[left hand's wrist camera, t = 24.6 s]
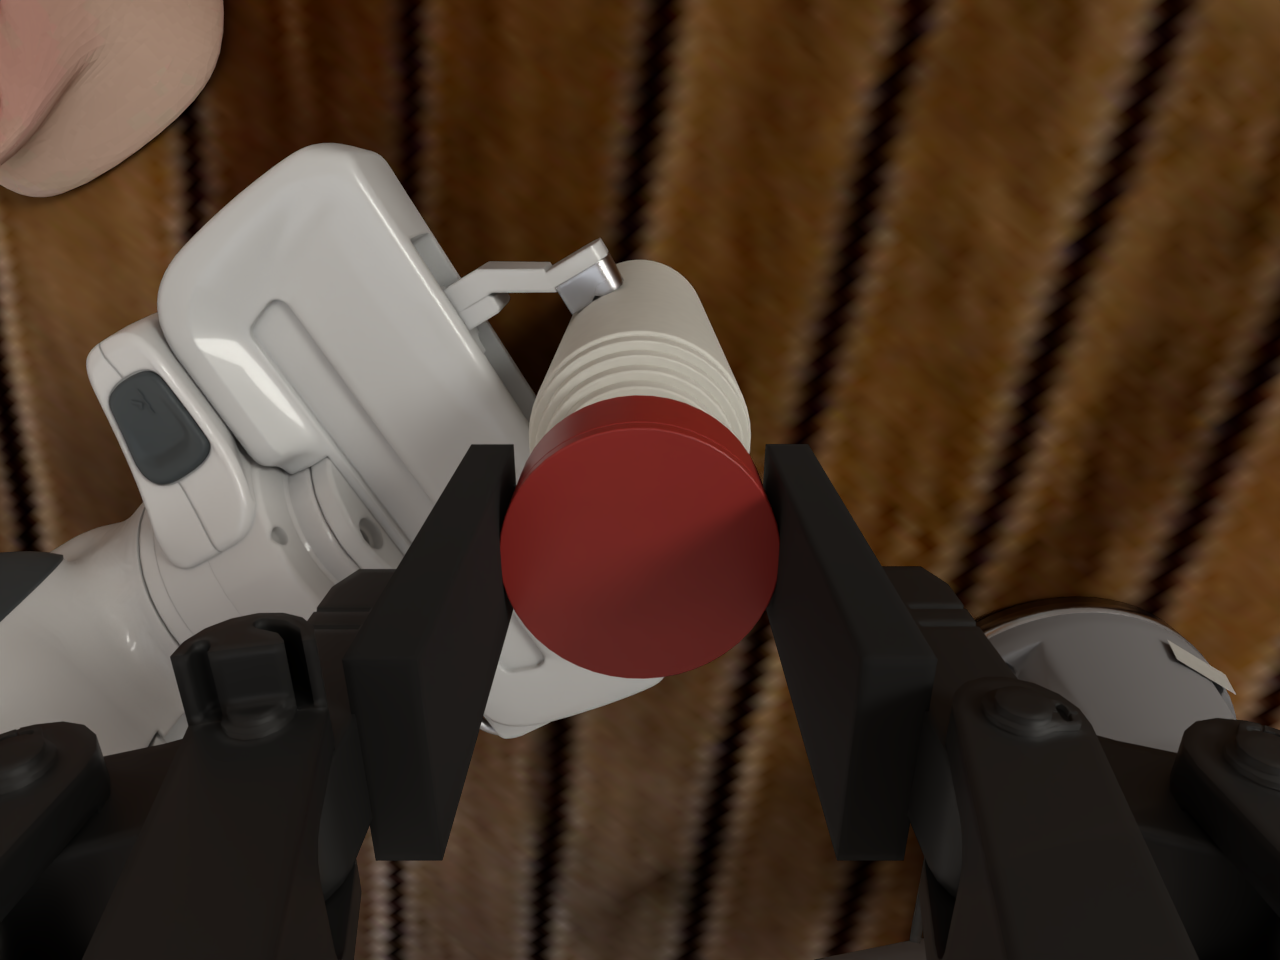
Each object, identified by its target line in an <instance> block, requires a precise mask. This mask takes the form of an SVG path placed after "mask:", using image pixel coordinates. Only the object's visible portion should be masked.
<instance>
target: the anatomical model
mask: <svg viewBox="0 0 1280 960" xmlns="http://www.w3.org/2000/svg"><path fill="white" fill-rule="evenodd" d="M223 23H224V8H223V0H0V185H2V186H4V187H5V188H7V189H9V190H12V191H14V192H16V193H18V194H22V195H26V196H31V197H49V196H54V195H58V194H62V193H65V192H67V191H69V190H72V189H74V188H76V187H79V186H81V185H83V184H86V183H88V182H90V181H91V180H93V179H95V178H96V177H98V176H100V175H101V174H103V173H105V172H106V171H108V170H110V169H111V168H113V167H115V166H116V165H118V164H119V163H121V162H122V161H124V160H125V159H126V158H128V157H129V156H131V155H132V154H134V153H135V152H136V151H138V150H139V149H140V148H142V147H143V146H144V145H145V144H147V143H148V142H149V141H151V140H152V139H153V138H154V137H156V136H157V135H158V134H159V133H161V132H162V131H163V130H164V129H165V128H166V127H167V126H169V125H170V124H171V123H172V122H173V121H174V120H175V119H177V118H178V117H179V116H180V115H181V113H182V112H183V111H184V110H185V109H186V108H187V107H188V106H189V105H190V104H191V103H192V102H193V101H194V100H195V99H196V97H197V96H198V95H199V94H200V92H201V91H202V90H203V88H204V87H205V85H206V84H207V82H208V80H209V79H210V77H211V75H212V73H213V71H214V68H215V66H216V63H217V60H218V57H219V54H220V49H221V43H222V37H223Z"/></svg>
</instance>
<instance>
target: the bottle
mask: <svg viewBox="0 0 1280 960" xmlns="http://www.w3.org/2000/svg"><path fill="white" fill-rule="evenodd" d="M616 266H617V268H618V270H619V272H620V274H621V275H622V277H623V279H624V281H623V284H622V285H621V286H620V287H619V288H617V289H616V290H614V291H613V292H611V293H609V294H607V295H604V296H594V299H593V301H592V303H591V304H589V305H588V306H587V307H585V308H584V309H582V310H580V311H578V312H577V313H575V314H573V316H572V318H571V320H570V322H569V325H568V327H567V329H566V331H565V334H564V336H563V338H562V340H561V343H560V345H559V347H558V349H557V351H556V354H555V356H554V358H553V360H552V363H551V365H550V367H549V369H548V372H547V374H546V376H545V378H544V381H543V383H542V385H541V387H540V389H539V392H538V394H537V397H536V399H535V402H534V404H533V408H532V412H531V416H530V423H529V448H530V454H531V453H532V451H533V449H534V448H535V446H536V445H537V444H538V443H539V441H540V440H541V439H542V438H543V437H544V435H545V434H546V433H547V432H549V431H550V430H551V429H552V428H553V427H554V426H555V425H556V424H557V423H559V422H560V421H562V420H563V419H564V418H566V417H567V416H569V415H570V414H572V413H574V412H576V411H578V410H580V409H581V408H583V407H585V406H588V405H591V404H594V403H596V402H599V401H602V400H607V399H611V398H615V397H622V396H632V395H644V396H657V397H663V398H670V399H673V400H677V401H680V402H683V403H687V404H689V405H691V406H693V407H696V408H698V409H700V410H702V411H704V412H706V413H707V414H709V415H710V416H712V417H714V418H715V419H717V420H718V421H719V422H721V423H722V424H723V425H724V426H725V427H727V428H728V429H729V430H730V431H731V432H732V433H733V434H734V435H735V436H736V437H737V438H738V439H739V441H740V442H741V443H742V445H743V446H744V447H745V449H746V450H747V452H748V453H750V441H751V430H750V420H749V415H748V410H747V407H746V404H745V401H744V398H743V395H742V393H741V391H740V389H739V386H738V384H737V382H736V380H735V377H734V375H733V373H732V371H731V368H730V366H729V364H728V362H727V360H726V357H725V355H724V353H723V351H722V348H721V346H720V344H719V342H718V339H717V337H716V335H715V333H714V331H713V328H712V326H711V324H710V322H709V319H708V317H707V315H706V313H705V310H704V308H703V306H702V304H701V302H700V299H699V297H698V295H697V293H696V291H695V290H694V289H693V287H692V286H691V284H690V283H689V282H688V281H687V280H686V279H685V278H684V277H683V276H682V275H681V274H679V273H678V272H677V271H675V270H674V269H672V268H670V267H668V266H666V265H664V264H661V263H658V262H655V261H649V260H630V261H625V262H621V263H618V264H616Z"/></svg>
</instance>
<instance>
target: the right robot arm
mask: <svg viewBox="0 0 1280 960" xmlns="http://www.w3.org/2000/svg"><path fill="white" fill-rule="evenodd" d="M623 281H624V279H623V277H622V275H621V274H620V272H619V270H618V268H617V266H616V264H615V262H614V261H613V259H612V257H611V255H610V253H609V252H608V249H607V248H606V246H605V244H604V243H603V241H602V239H601V238H599V239H596V240H594V241H592V242H591V243H589V244H587V245H586V246H584V247H582V248H581V249H579V250H577V251H576V252H574V253H572V254H571V255H569V256H567V257H565V258H564V259H562V260H560V261H559V262H557V263H555V264H554V265H552V264H551V263H550V262H503V261H489V262H487V263H486V264H484V265H482V266H481V267H479V268H477V269H476V270H474V271H473V272H471V273H469V274H468V275H466V276H464V277H463V278H460V276H459V274H458V273H457V271H456V270H455V268H454V267H453V265H452V263H451V262H450V260H449V259H448V257H447V256H446V254H445V253H444V251H443V249H442V248H441V246H440V245H439V243H438V242H437V240H436V238H435V237H434V235H433V234H432V232H431V231H430V229H429V227H428V226H427V224H426V223H425V221H424V220H423V218H422V217H421V215H420V213H419V212H418V210H417V209H416V207H415V206H414V204H413V202H412V201H411V199H410V198H409V196H408V195H407V193H406V192H405V190H404V188H403V187H402V185H401V184H400V182H399V180H398V179H397V177H396V176H395V174H394V172H393V171H392V169H391V168H390V166H389V165H388V163H387V162H386V160H385V159H384V158H383V157H382V156H380V155H379V154H377V153H375V152H372V151H369V150H365V149H361V148H357V147H354V146H349V145H344V144H337V143H321V144H314V145H310V146H307V147H304V148H302V149H300V150H298V151H296V152H295V153H293V154H291V155H290V156H288V157H287V158H285V159H284V160H282V161H281V162H279V163H278V164H276V165H275V166H274V167H273V168H271V169H270V170H269V171H267V172H266V173H265V174H263V175H262V176H261V177H259V178H258V179H257V180H256V181H254V182H253V183H252V184H251V185H249V186H248V187H247V188H246V189H245V190H243V191H242V192H241V193H240V194H238V195H237V196H236V197H235V198H234V199H233V200H231V201H230V202H229V203H228V204H227V205H226V206H225V207H224V208H222V209H221V210H220V211H219V212H218V213H217V214H216V215H215V216H214V217H213V218H211V219H210V220H209V221H208V222H207V223H206V224H205V225H204V226H203V227H202V228H201V229H200V230H199V231H198V232H197V233H196V234H195V235H194V236H193V237H192V238H191V239H190V240H189V241H188V242H187V243H186V244H185V245H184V247H183V248H182V249H181V250H180V251H179V252H178V253H177V255H176V256H175V257H174V259H173V260H172V262H171V263H170V264H169V266H168V268H167V270H166V271H165V273H164V276H163V278H162V281H161V284H160V287H159V291H158V299H157V310H158V312H157V313H154V314H152V315H149V316H147V317H145V318H143V319H141V320H139V321H136V322H134V323H132V324H130V325H128V326H126V327H125V328H123V329H121V330H120V331H118V332H116V333H114V334H113V335H111V336H109V337H108V338H106V339H105V340H103V341H102V342H100V343H99V344H97V345H96V346H95V347H94V348H93V349H92V350H91V351H90V353H89V354H88V357H87V361H86V368H87V373H88V377H89V380H90V383H91V385H92V387H93V390H94V392H95V394H96V396H97V398H98V400H99V402H100V404H101V406H102V408H103V411H104V413H105V415H106V417H107V419H108V421H109V423H110V425H111V427H112V429H113V431H114V433H115V436H116V438H117V440H118V442H119V444H120V446H121V449H122V451H123V453H124V455H125V458H126V460H127V462H128V464H129V467H130V469H131V472H132V474H133V476H134V479H135V481H136V484H137V486H138V489H139V492H140V494H141V497H142V500H143V503H142V504H141V505H140V506H139V507H138V509H137V510H136V511H135V512H134V514H133V515H132V516H131V517H130V518H128V519H127V520H125V521H123V522H119V523H115V524H110V525H106V526H102V527H98V528H95V529H92V530H90V531H87V532H85V533H82V534H80V535H78V536H76V537H74V538H73V539H71V540H69V541H67V542H66V543H64V544H62V545H61V546H59V547H57V548H56V549H54V550H53V551H51V552H49V553H48V552H32V551H24V552H3V553H0V734H2V733H5V732H8V731H11V730H14V729H16V730H18V729H20V728H21V727H26V726H30V725H34V724H43V723H52V722H61V721H64V722H70V723H77V724H83V725H85V726H86V727H88V728H89V729H90V730H91V731H93V732H94V733H95V734H96V736H97V739H98V742H99V745H100V748H101V751H102V754H103V756H107V755H112V754H117V753H122V752H127V751H132V750H136V749H141V748H146V747H151V746H156V745H160V744H165V743H169V742H172V741H176V740H180V739H183V737H184V734H185V732H186V730H187V728H188V723H187V719H186V715H185V712H184V708H183V704H182V700H181V697H180V693H179V689H178V685H177V682H176V678H175V674H174V670H173V667H172V663H171V659H170V656H171V655H172V654H173V653H174V652H175V650H176V649H177V648H178V647H179V646H180V645H181V644H182V643H183V642H184V641H185V640H187V639H188V638H190V637H192V636H193V635H195V634H197V633H198V632H200V631H201V630H203V629H205V628H207V627H210V626H212V625H215V624H218V623H220V622H223V621H226V620H228V619H231V618H236V617H241V616H246V615H251V614H256V613H287V614H291V615H295V616H299V617H303V618H304V619H305V620H306V621H307V620H308V619H309V618H310V616H311V615H312V613H313V612H317V607H318V605H319V604H320V602H321V601H322V600H323V598H324V597H325V596H326V594H327V593H328V591H329V590H330V589H331V587H332V586H334V585H335V584H337V583H339V582H340V581H342V580H343V579H345V578H346V577H348V576H349V575H351V574H352V573H354V572H355V571H357V570H358V569H397V567H398V565H399V564H400V562H401V560H402V559H403V557H404V555H405V554H406V552H407V550H408V549H409V547H410V545H411V544H412V542H413V540H414V539H415V537H416V535H417V534H418V532H419V530H420V529H421V527H422V525H423V524H424V522H425V520H426V519H427V517H428V515H429V514H430V512H431V511H432V509H433V507H434V506H435V504H436V502H437V501H438V499H439V497H440V496H441V494H442V492H443V491H444V489H445V487H446V486H447V484H448V482H449V481H450V479H451V477H452V476H453V474H454V472H455V471H456V469H457V467H458V466H459V464H460V462H461V461H462V459H463V457H464V456H465V454H466V452H467V451H468V449H469V447H470V446H471V444H514V457H515V473H516V485H517V483H518V480H519V478H520V475H521V473H522V470H523V468H524V465H525V463H526V461H527V459H528V458H529V456H530V448H529V423H530V416H531V412H532V408H533V404H534V402H535V399H536V395H535V393H534V392H533V390H532V389H531V387H530V386H529V384H528V383H527V381H526V379H525V378H524V376H523V375H522V373H521V372H520V370H519V368H518V367H517V365H516V364H515V362H514V361H513V359H512V357H511V356H510V354H509V353H508V351H507V350H506V348H505V346H504V345H503V343H502V342H501V340H500V339H499V337H498V336H497V334H496V332H495V331H494V329H493V328H492V326H491V325H490V323H489V321H488V319H489V318H491V317H492V316H494V315H496V314H497V313H499V312H500V311H501V310H502V309H503V308H504V307H505V305H506V304H507V303H508V302H509V301H510V296H509V294H508V293H530V292H557V291H558V293H559V294H560V296H561V298H562V299H563V301H564V302H565V304H566V306H567V307H568V309H569V310H570V312H571V314H572V315H573V314H575V313H577V312H578V311H580V310H582V309H584V308H585V307H587V306H588V305H589V304H591V303H592V301H593V299H594V296H604V295H607V294H609V293H611V292H613V291H614V290H616V289H617V288H619V287H620V286H621V285H622V284H623ZM663 678H664V677H660V678H648V679H632V678H621V677H613V676H608V675H604V674H600V673H596V672H592V671H590V670H587V669H584V668H582V667H579V666H577V665H575V664H573V663H571V662H569V661H567V660H565V659H563V658H561V657H560V656H558V655H557V654H555V653H554V652H552V651H551V650H549V649H548V648H547V647H546V646H544V645H543V644H542V643H541V642H540V641H539V640H537V639H536V638H535V637H534V636H533V634H532V633H531V632H530V631H529V630H528V629H527V628H526V627H525V626H524V624H523V623H522V621H521V620H520V618H519V617H518V615H517V614H516V613H515V611H514V609H513V613H512V616H511V620H510V623H509V627H508V630H507V634H506V637H505V641H504V644H503V648H502V652H501V655H500V659H499V662H498V666H497V669H496V673H495V676H494V680H493V683H492V687H491V690H490V694H489V697H488V701H487V704H486V708H485V711H484V715H483V716H484V717H485V718H486V719H484V718H483V719H482V722H481V726H480V729H481V730H483V731H485V732H488V733H491V734H494V735H499V736H500V737H502V738H505V739H509V738H515V737H519V736H522V735H524V734H526V733H529V732H531V731H533V730H535V729H537V728H539V727H541V726H543V725H546V724H548V723H550V722H551V721H555V720H559V719H562V718H566V717H570V716H573V715H576V714H580V713H583V712H586V711H589V710H592V709H595V708H598V707H601V706H604V705H607V704H610V703H613V702H615V701H618V700H621V699H624V698H626V697H629V696H631V695H634V694H636V693H639V692H641V691H644V690H646V689H648V688H650V687H652V686H654V685H656V684H657V683H659V682H660V681H661V680H662V679H663Z"/></svg>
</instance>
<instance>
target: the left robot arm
mask: <svg viewBox="0 0 1280 960" xmlns="http://www.w3.org/2000/svg"><path fill="white" fill-rule="evenodd" d="M763 487H764V489H765V492H766V495H767V497H768V500H769V502H770V505H771V508H772V510H773V513H774V516H775V519H776V522H777V526H778V531H779V536H780V545H779V559H778V573H777V582H776V587H775V590H774V592H773V595H772V597H771V600H770V602H769V604H768V606H767V608H766V611H767V614H768V618H769V621H770V625H771V628H772V632H773V636H774V639H775V643H776V646H777V650H778V653H779V657H780V660H781V664H782V667H783V671H784V674H785V678H786V681H787V685H788V689H789V692H790V696H791V699H792V703H793V706H794V710H795V713H796V717H797V720H798V724H799V727H800V731H801V734H802V738H803V741H804V745H805V749H806V752H807V756H808V759H809V763H810V766H811V770H812V773H813V777H814V780H815V784H816V787H817V791H818V794H819V798H820V801H821V805H822V809H823V812H824V816H825V819H826V823H827V826H828V830H829V833H830V837H831V840H832V844H833V847H834V851H835V854H836V858H837V860H904V855H905V849H906V843H907V837H908V831H909V825H910V823H911V825H912V828H913V830H914V832H915V835H916V837H917V840H918V842H919V845H920V847H921V849H922V852H923V854H924V861H923V867H922V872H921V878H920V883H919V889H918V894H917V900H916V905H915V911H914V916H913V922H912V928H911V935H910V941H906V942H901V943H896V944H891V945H886V946H881V947H876V948H871V949H866V950H861V951H856V952H851V953H846V954H841V955H836V956H831V957H826V958H821V959H816V960H1280V730H1277V729H1275V728H1272V727H1269V726H1266V725H1265V726H1262V725H1261V724H1258V723H1253V722H1249V721H1243V720H1236V715H1235V711H1234V708H1233V705H1232V702H1231V699H1230V697H1229V695H1228V693H1227V691H1226V689H1227V690H1229V691H1231V692H1232V693H1234V694H1236V693H1235V692H1234V690H1233V688H1232V686H1231V684H1230V682H1229V681H1228V679H1227V677H1226V675H1225V674H1223V673H1222V672H1220V671H1218V670H1217V669H1215V668H1213V667H1212V666H1210V665H1209V663H1208V662H1207V661H1206V660H1205V658H1204V657H1203V656H1202V654H1201V653H1200V652H1199V651H1198V650H1197V649H1196V648H1195V647H1194V646H1193V645H1192V644H1191V643H1189V642H1188V641H1187V640H1186V639H1185V638H1184V637H1183V636H1181V635H1180V634H1179V633H1178V632H1177V631H1176V630H1174V629H1173V628H1172V627H1171V626H1169V625H1168V624H1167V623H1166V622H1164V621H1163V620H1161V619H1160V618H1158V617H1156V616H1155V615H1153V614H1151V613H1149V612H1147V611H1145V610H1143V609H1141V608H1138V607H1135V606H1132V605H1129V604H1127V603H1123V602H1119V601H1114V600H1110V599H1103V598H1096V597H1059V598H1050V599H1043V600H1038V601H1033V602H1028V603H1025V604H1021V605H1018V606H1014V607H1011V608H1008V609H1006V610H1003V611H1000V612H998V613H995V614H993V615H991V616H989V617H986V618H984V619H982V620H980V621H978V622H975V620H974V619H973V618H972V616H971V615H970V613H969V612H968V611H967V609H963V604H962V603H961V601H960V600H959V598H958V597H957V596H956V594H955V593H954V592H953V590H952V589H951V588H950V586H949V585H948V584H947V583H945V582H944V581H942V580H941V579H939V578H938V577H936V576H935V575H933V574H932V573H930V572H928V571H927V570H925V569H924V568H922V567H921V566H881V565H880V563H879V561H878V560H877V558H876V556H875V555H874V553H873V551H872V550H871V548H870V546H869V545H868V543H867V541H866V540H865V538H864V536H863V535H862V533H861V531H860V530H859V528H858V526H857V525H856V523H855V521H854V520H853V518H852V516H851V515H850V513H849V511H848V510H847V508H846V506H845V505H844V503H843V501H842V500H841V498H840V496H839V495H838V493H837V491H836V490H835V488H834V486H833V485H832V483H831V481H830V480H829V478H828V476H827V475H826V473H825V471H824V470H823V468H822V467H821V465H820V463H819V462H818V460H817V458H816V457H815V455H814V453H813V452H812V450H811V448H810V447H809V445H808V444H766V449H765V465H764V481H763ZM515 488H516V473H515V457H514V444H471V446H470V447H469V449H468V451H467V452H466V454H465V456H464V457H463V459H462V461H461V462H460V464H459V466H458V467H457V469H456V471H455V472H454V474H453V476H452V477H451V479H450V481H449V482H448V484H447V486H446V487H445V489H444V491H443V492H442V494H441V496H440V497H439V499H438V501H437V502H436V504H435V506H434V507H433V509H432V511H431V512H430V514H429V515H428V517H427V519H426V520H425V522H424V524H423V525H422V527H421V529H420V530H419V532H418V534H417V535H416V537H415V539H414V540H413V542H412V544H411V545H410V547H409V549H408V550H407V552H406V554H405V555H404V557H403V559H402V560H401V562H400V564H399V565H398V567H397V569H358V570H357V571H355V572H354V573H352V574H351V575H349V576H348V577H346V578H345V579H343V580H342V581H340V582H339V583H337V584H335V585H334V586H332V587H331V589H330V590H329V591H328V593H327V594H326V596H325V597H324V598H323V600H322V601H321V602H320V604H319V605H318V607H317V612H313V613H312V615H311V616H310V618H309V619H308V620H307V621H306V620H305V619H304V618H303V617H299V616H295V615H291V614H287V613H256V614H251V615H246V616H241V617H236V618H231V619H228V620H226V621H223V622H220V623H218V624H215V625H212V626H210V627H207V628H205V629H203V630H201V631H200V632H198V633H197V634H195V635H193V636H192V637H190V638H188V639H187V640H185V641H184V642H183V643H182V644H181V645H180V646H179V647H178V648H177V649H176V650H175V652H174V653H173V654H172V655H171V656H170V659H171V663H172V667H173V670H174V674H175V678H176V682H177V685H178V689H179V693H180V697H181V700H182V704H183V708H184V712H185V715H186V719H187V723H188V728H187V730H186V732H185V734H184V737H183V739H180V740H176V741H172V742H169V743H165V744H160V745H156V746H151V747H146V748H141V749H136V750H132V751H127V752H122V753H117V754H112V755H107V756H103V754H102V751H101V748H100V745H99V742H98V739H97V736H96V734H95V733H94V732H93V731H91V730H90V729H89V728H88V727H86V726H85V725H83V724H77V723H70V722H64V721H61V722H52V723H43V724H34V725H30V726H26V727H21V728H20V729H18V730H16V729H14V730H11V731H8V732H5V733H2V734H0V960H354V953H355V944H356V936H357V927H358V918H359V909H360V900H361V886H360V879H359V872H358V867H357V861H356V857H357V855H358V852H359V850H360V847H361V845H362V843H363V840H364V838H365V835H366V833H367V830H368V828H369V825H370V828H371V834H372V840H373V846H374V852H375V858H376V860H443V856H444V853H445V849H446V846H447V842H448V839H449V835H450V831H451V828H452V824H453V821H454V817H455V814H456V810H457V807H458V803H459V800H460V796H461V793H462V789H463V786H464V782H465V779H466V775H467V771H468V768H469V764H470V761H471V757H472V754H473V750H474V747H475V743H476V740H477V736H478V733H479V729H480V726H481V722H482V719H483V715H484V711H485V708H486V704H487V701H488V697H489V694H490V690H491V687H492V683H493V680H494V676H495V673H496V669H497V666H498V662H499V659H500V655H501V652H502V648H503V644H504V641H505V637H506V634H507V630H508V627H509V623H510V620H511V616H512V613H513V607H512V605H511V603H510V601H509V599H508V597H507V594H506V591H505V588H504V585H503V579H502V566H501V553H500V532H501V528H502V524H503V520H504V516H505V514H506V511H507V509H508V506H509V503H510V501H511V498H512V496H513V493H514V490H515ZM1225 688H1226V689H1225ZM922 931H923V934H924V938H921V936H922Z"/></svg>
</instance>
